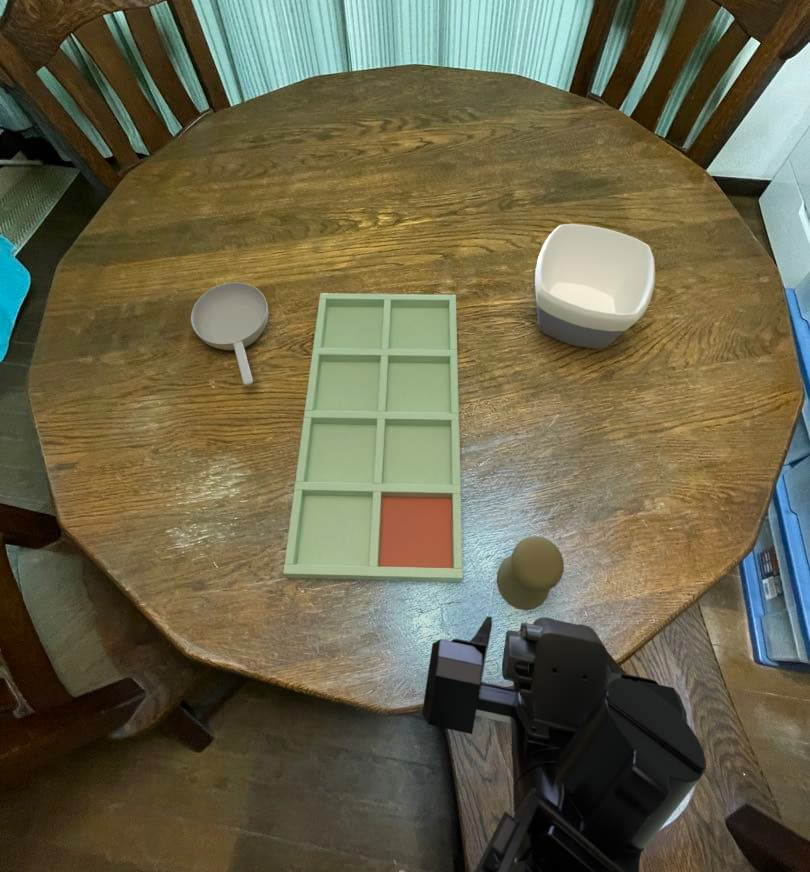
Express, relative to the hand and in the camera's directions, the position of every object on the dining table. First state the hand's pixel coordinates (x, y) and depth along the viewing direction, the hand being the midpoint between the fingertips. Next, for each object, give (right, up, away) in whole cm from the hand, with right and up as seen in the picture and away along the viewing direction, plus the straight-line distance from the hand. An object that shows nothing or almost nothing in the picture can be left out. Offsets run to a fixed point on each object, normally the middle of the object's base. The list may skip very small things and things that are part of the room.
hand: (540, 631), depth 53 cm
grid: (-15, +15, +25) cm, 33 cm away
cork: (+1, -2, +14) cm, 15 cm away
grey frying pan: (-36, +25, +32) cm, 54 cm away
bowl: (+13, +29, +34) cm, 47 cm away
